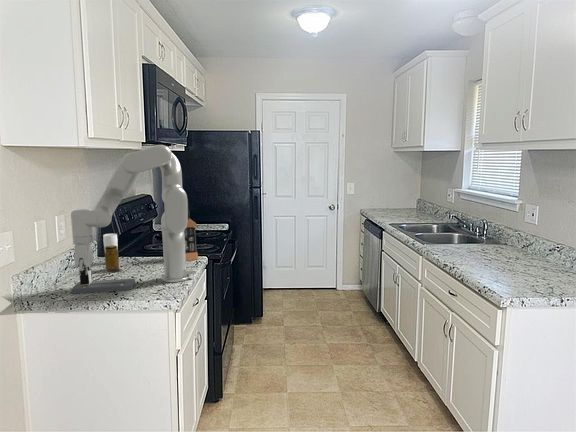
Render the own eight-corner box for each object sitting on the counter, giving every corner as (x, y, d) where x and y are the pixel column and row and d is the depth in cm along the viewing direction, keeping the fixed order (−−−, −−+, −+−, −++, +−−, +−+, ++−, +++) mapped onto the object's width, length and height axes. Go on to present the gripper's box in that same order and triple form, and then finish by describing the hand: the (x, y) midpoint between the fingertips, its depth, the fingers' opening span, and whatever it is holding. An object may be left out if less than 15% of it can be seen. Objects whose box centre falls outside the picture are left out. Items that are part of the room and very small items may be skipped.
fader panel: (135, 282, 183) (134, 278, 183) (131, 289, 174) (131, 284, 173) (78, 286, 179) (78, 281, 179) (71, 293, 169) (71, 288, 169)
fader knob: (91, 281, 177) (90, 270, 176) (89, 285, 173) (88, 273, 172) (84, 282, 176) (83, 270, 176) (81, 285, 172) (80, 273, 171)
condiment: (107, 268, 207) (106, 245, 205) (125, 268, 208) (124, 244, 206) (102, 272, 200) (101, 248, 198) (121, 272, 200) (119, 247, 199)
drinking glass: (118, 264, 215) (116, 235, 213) (104, 265, 213) (102, 236, 211) (119, 260, 221) (117, 233, 219) (105, 261, 220) (103, 233, 217)
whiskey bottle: (198, 259, 223) (196, 200, 219) (179, 261, 219) (177, 201, 215) (193, 255, 233) (191, 198, 228) (175, 257, 228) (173, 199, 224)
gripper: (79, 236, 179) (82, 277, 182) (66, 244, 163) (70, 289, 166) (97, 235, 181) (100, 276, 183) (87, 243, 164) (91, 288, 167)
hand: (86, 281), depth 174 cm, fingers closed on fader knob, 4 cm apart
